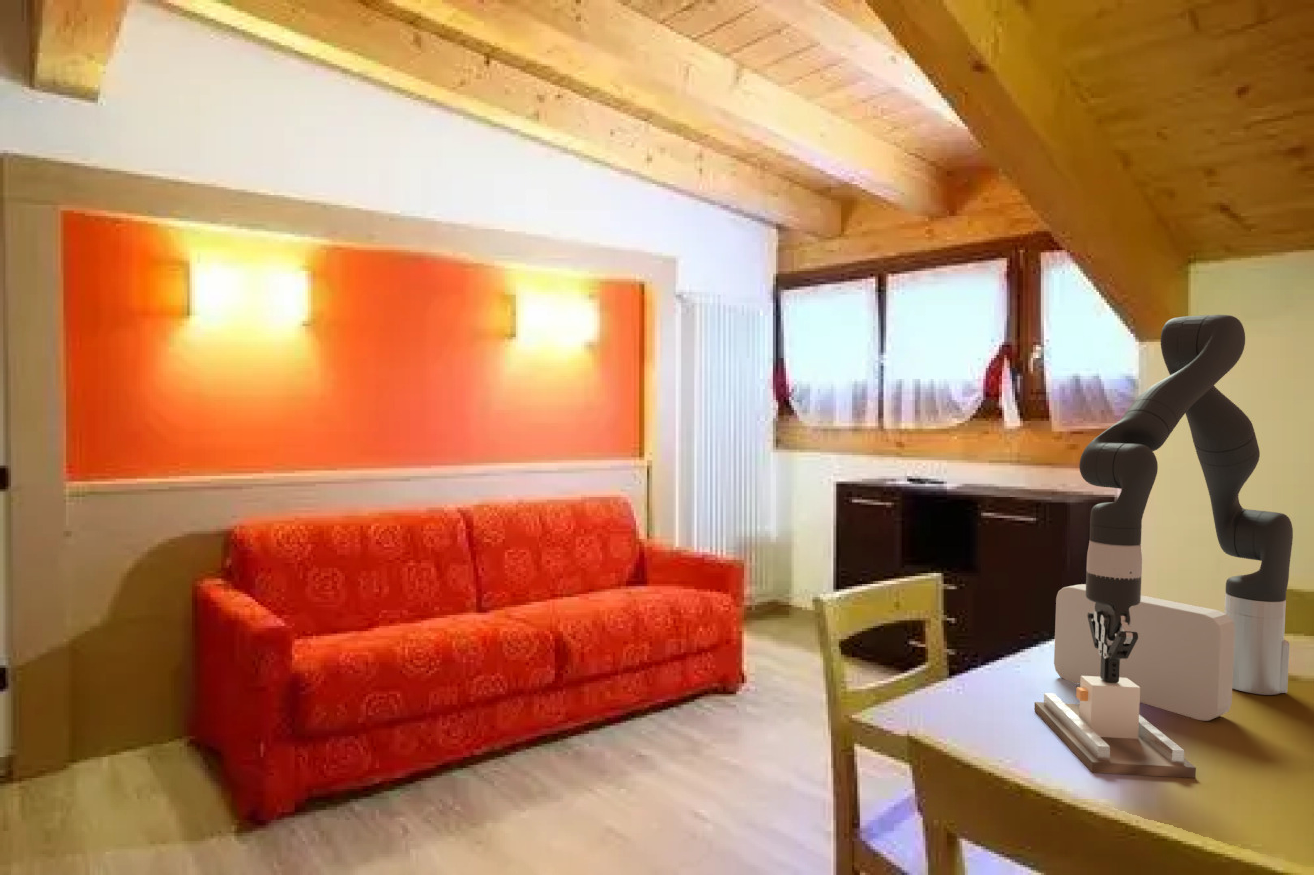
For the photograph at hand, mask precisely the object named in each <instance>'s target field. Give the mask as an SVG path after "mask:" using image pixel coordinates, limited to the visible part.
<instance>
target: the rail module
mask: <svg viewBox="0 0 1314 875" xmlns="http://www.w3.org/2000/svg"><path fill="white" fill-rule="evenodd" d="M1075 694H1076V696H1075V697H1076V698H1077V699H1078V700H1079V704H1080V707H1079V718H1080V719H1081V720H1083V721H1084V722H1085V723H1086V724H1087V725H1088V726H1089V727H1090V728H1091V729H1092V730H1093V731H1094V732H1095V733H1096V734H1097V735H1098V736H1099V737H1112V738H1131V739H1138V730H1139V715H1140V704H1141V703H1140V687H1139V686H1137V685H1136V684H1135V683H1133V682H1132V681H1131V680H1129V679H1128V678H1120V677H1119V682H1118V683H1106V682H1105V681H1103V680H1102V679H1101V678H1100V677H1098V676H1081V680H1080V684H1079V686H1076V693H1075Z"/></svg>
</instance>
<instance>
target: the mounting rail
mask: <svg viewBox="0 0 1314 875" xmlns="http://www.w3.org/2000/svg"><path fill="white" fill-rule="evenodd" d="M1043 702H1044V705H1045V706H1046V707H1047V708H1048V709H1049V710H1050V711H1051V712H1052V713H1053V714H1054V715H1055V716H1056V717H1057V718H1058V720H1059V721H1060V722H1061V723H1062V724H1063V725H1064V726H1065V727H1066V728H1067V729H1068V730H1069V731H1070V732H1071V733H1072V734H1073V735H1074V736H1075V737H1076V738H1077V739H1078V740H1079V741H1080V742H1081V743H1082V744H1083V745H1084V746H1085V747H1086V748H1087V749H1088V750H1089V751H1090V752H1091V753H1092V754H1093V755H1094V756H1095V757H1096V758H1097V759H1098V760H1110V746H1109V745H1108V744H1107V743H1106V742H1105V741H1104V740H1103V739H1102V738H1100V737H1099V736H1098V735H1097V734H1096V733H1095V732H1094V731H1093V730H1092V729H1091V728H1090V727H1089V726H1088V725H1087V724H1086V723H1085V722H1084V721H1083V720H1081V719H1080V718H1079V717H1078V716H1077V715H1076V714H1075V713H1074V712H1073V711H1072V710H1071V709H1070V708H1069V707H1068V706H1067V705H1066V704H1067V703H1066V704H1065V702H1064V701H1062V699H1061V698H1060V697H1058V696H1057V695H1056V694H1055V692H1053V693H1052V692H1044V693H1043ZM1138 735H1139V736H1140V737H1141V738H1142V739H1144V740H1145V741H1146V742H1147V743H1148V744H1150V745H1151V746H1152V747H1153V748H1154V749H1155V750H1157V751H1158V752H1159V753H1160V754H1161V755H1162V756H1164V757H1165V758H1166V759H1167V760H1168V761H1169V762H1171V763H1172V764H1184V758H1185V750H1184V749H1183V748H1182V747H1180V745H1178V744H1177V743H1176V742H1174V741H1173V740H1172V739H1171V738H1169V737H1168V735H1166V734H1165V733H1163V732H1162V731H1161V730H1160V729H1158V728H1157V727H1156V726H1154V725H1153V724H1152V723H1151V722H1149V721H1148V720H1147V719H1146V718H1144V717H1143V716H1142V715H1141V714H1139V730H1138Z"/></svg>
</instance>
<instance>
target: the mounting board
mask: <svg viewBox="0 0 1314 875" xmlns="http://www.w3.org/2000/svg"><path fill="white" fill-rule="evenodd" d="M1064 703H1065V702H1064ZM1065 704H1066V705H1067V706H1068V707H1069V708H1070V709H1071V710H1072V711H1073V712H1074V713H1075V714H1076V715H1077V716H1078V717H1079V707H1080V703H1065ZM1033 708H1034V710H1035V711H1034V712H1035V713H1036V714H1037V713H1038V714H1037V715H1038V717H1039V718H1041V719H1042V720H1043V722H1044V723H1045V722H1046V723H1047V724H1046V723H1045V724H1046V725H1047V726H1048V727H1049V726H1050V727H1049V728H1050V730H1052V731H1053V732H1054V733H1055V735H1057V737H1058V738H1060V740H1061V741H1062V742H1063V743H1064V744H1065V746H1067V748H1068V749H1070V751H1072V753H1074V755H1075V756H1076V757H1077V758H1078V759H1079V760H1080V761H1081V762H1082V763H1083V765H1084V766H1085V767H1086V768H1087V769H1088V770H1089V771H1090V772H1091V773H1096V774H1097V773H1098V774H1117V775H1134V776H1136V775H1137V776H1151V777H1152V776H1153V777H1170V778H1187V777H1189V778H1190V779H1196V778H1197V777H1196V776H1197V773H1196V772H1197V771H1196V770H1197V768H1196V766H1194V764H1192V763H1191V762H1190V761H1189V760H1188V759H1187V758H1185V757H1184V764H1172V763H1171V762H1169V761H1168V760H1167V759H1166V758H1165V757H1164V756H1162V755H1161V754H1160V753H1159V752H1158V751H1157V750H1155V749H1154V748H1153V747H1152V746H1151V745H1150V744H1148V743H1147V742H1146V741H1145V740H1144V739H1142V738H1141V737H1140V736H1139V735H1138V739H1131V738H1112V737H1100V738H1102V739H1103V740H1104V741H1105V742H1106V743H1107V744H1108V745H1109V746H1110V760H1098V759H1097V758H1096V757H1095V756H1094V755H1093V754H1092V753H1091V752H1090V751H1089V750H1088V749H1087V748H1086V747H1085V746H1084V745H1083V744H1082V743H1081V742H1080V741H1079V740H1078V739H1077V738H1076V737H1075V736H1074V735H1073V734H1072V733H1071V732H1070V731H1069V730H1068V729H1067V728H1066V727H1065V726H1064V725H1063V724H1062V723H1061V722H1060V721H1059V720H1058V718H1057V717H1056V716H1055V715H1054V714H1053V713H1052V712H1051V711H1050V710H1049V709H1048V708H1047V707H1046V706H1045V705H1044V701H1043V702H1040V701H1034V707H1033Z"/></svg>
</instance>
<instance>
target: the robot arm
mask: <svg viewBox="0 0 1314 875" xmlns="http://www.w3.org/2000/svg"><path fill="white" fill-rule="evenodd" d="M1245 345H1246V332H1245V328H1244V325H1243V323H1242V322H1241V320H1240V319H1238V317H1236V316H1234V315H1228V314H1208V315H1207V314H1204V315H1189V316H1188V315H1187V316H1179V317H1173V318H1171V319H1169V320H1167V321H1166V322H1165V324H1163V327H1162V329H1161V333H1160V348H1161V349H1160V350H1161V354H1162V358H1163V361H1164V364H1165V366H1166V369H1167V372H1168V373H1169V376H1167V377H1164V378H1163V379H1161V380H1160V381H1157V382H1155V384H1152V385H1151V386H1149V387H1148V388H1146V390H1144V391H1142V393H1141V394H1139V395H1138V396H1137V398H1136V399H1135V400H1134V401H1133V402H1132V403H1131V405H1130V407H1129V408H1128V409H1127V411H1126V412H1125V413H1124V415H1123V416H1122V417H1121V419H1120V420H1119V421H1117V422H1116V423H1114V424H1112V425H1111V426H1109V427H1108V428H1107V429H1106V430H1104V431H1102V432H1101V433H1100V434H1099V435H1098V436H1095V438H1093V439H1092V441H1090V442H1089V443H1088V444H1087V445H1086V447H1085V448H1084V449H1083V451H1082V453H1081V456H1080V459H1079V464H1078V465H1079V473H1080V475H1081V477H1082V478H1083V480H1084V481H1085V482H1086V483H1087V484H1090V485H1091V486H1095V487H1100V488H1112V489H1113V488H1114V489H1121V490H1120V493H1119V495H1118V496H1117V499H1116V500H1115V501H1112V502H1100V503H1097V504H1095V505H1094V506H1093V507H1092V508H1091V510H1090V515H1089V516H1090V518H1089V524H1090V525H1089V541H1088V542H1089V543H1088V549H1087V554H1086V572H1085V574H1086V575H1085V576H1086V578H1085V579H1086V580H1085V584H1086V597H1087V599H1089V600H1090V601H1093V602H1096V603H1095V611H1094V613H1088V615H1087V617H1088V621H1089V626H1090V630H1091V634H1092V638H1093V643H1094V647H1095V648H1099V651H1098V652H1099V655H1100V656H1101V671H1100V678H1101V679H1102V680H1103V681H1105V682H1106V683H1118V682H1119V668H1120V659H1127V658H1128V657H1129V655H1130V653H1131V651H1132V649H1133V647H1134V645H1135V643H1136V642H1137V640H1138V633H1137V632H1131V630H1130V622H1131V619H1130V612H1129V608H1130V607H1131V606H1135V605H1138V604H1139V603H1140V601H1141V595H1142V594H1141V593H1142V575H1143V574H1142V570H1143V569H1142V568H1143V556H1142V555H1143V554H1142V529H1143V528H1142V525H1143V524H1142V522H1143V517H1144V513H1145V511H1146V507H1147V504H1148V500H1149V498H1150V494H1151V492H1152V489H1153V486H1154V483H1155V481H1156V479H1157V474H1158V469H1159V466H1158V465H1159V464H1158V460H1157V456H1156V454H1155V453H1154V452H1155V451H1157V450H1159V449H1160V448H1162V446H1163V445H1164V444H1165V443H1166V441H1167V440H1168V438H1169V437H1170V436H1171V434H1172V432H1173V431H1174V429H1175V428H1176V427H1177V425H1178V423H1179V422H1180V421H1181V419H1182V418H1183V417H1184V415H1185V416H1186V420H1187V423H1188V426H1189V429H1190V433H1191V438H1192V442H1193V445H1194V448H1195V452H1196V455H1197V459H1198V461H1199V463H1200V464H1199V465H1200V467H1201V470H1202V473H1203V477H1204V480H1205V483H1206V488H1207V491H1208V496H1209V498H1210V503H1211V504H1210V505H1211V511H1212V516H1213V523H1214V526H1215V527H1214V528H1215V533H1216V537H1217V541H1218V545H1219V546H1220V548H1221V550H1222V551H1223V552H1224V553H1225V554H1227V555H1229V556H1230V557H1235V558H1239V559H1247V560H1253V561H1254V560H1255V561H1261V562H1260V566H1259V569H1258V570H1257V571H1254V572H1252V573H1247V574H1241V575H1240V574H1239V575H1235V576H1231V577H1229V578H1227V579H1226V582H1225V593H1224V594H1225V595H1224V596H1225V598H1224V613H1225V614H1227V615H1228V616H1229V617H1230V618H1231V620H1232V621H1233V624H1234V628H1235V639H1234V661H1233V683H1232V690H1236V691H1241V692H1245V693H1249V694H1255V695H1264V696H1266V695H1267V696H1273V695H1280V694H1287V693H1288V684H1289V682H1288V681H1289V665H1290V664H1289V660H1290V659H1289V658H1290V641H1288V640H1286V639H1285V630H1286V628H1285V627H1286V607H1287V606H1286V604H1287V590H1288V585H1289V578H1290V564H1291V557H1292V548H1293V538H1294V536H1293V535H1294V530H1293V523H1292V521H1291V519H1290V517H1289V516H1288V515H1287V514H1285V513H1282V512H1276V511H1267V510H1258V509H1257V510H1256V509H1247V508H1243V507H1242V505H1241V503H1240V498H1239V494H1240V492H1241V491H1242V488H1243V486H1244V485H1245V484H1246V482H1247V481H1248V480H1249V479H1250V477H1251V476H1252V474H1253V473H1254V471H1255V469H1256V468H1257V465H1258V463H1259V460H1260V457H1261V456H1260V453H1261V452H1260V448H1259V447H1260V446H1259V443H1258V440H1257V439H1258V438H1257V435H1256V433H1255V428H1254V425H1253V423H1252V420H1250V418H1249V417H1248V415H1247V414H1246V413H1245V412H1244V411H1243V410H1242V409H1241V408H1240V407H1239V406H1238V405H1237V404H1235V403H1234V402H1233V401H1232V400H1231V399H1229V397H1227V396H1226V395H1225V394H1224V393H1222V392H1221V391H1220V390H1219V389H1218V388H1217V387H1216V386H1215V385H1216V384H1217V383H1218V382H1219V381H1220V380H1221V379H1222V378H1224V376H1226V374H1228V373H1229V372H1230V371H1231V370H1232V369H1233V368H1234V367H1235V366H1236V364H1237V363H1238V362H1239V361H1240V359H1241V357H1242V355H1243V352H1244V350H1245Z"/></svg>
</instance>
